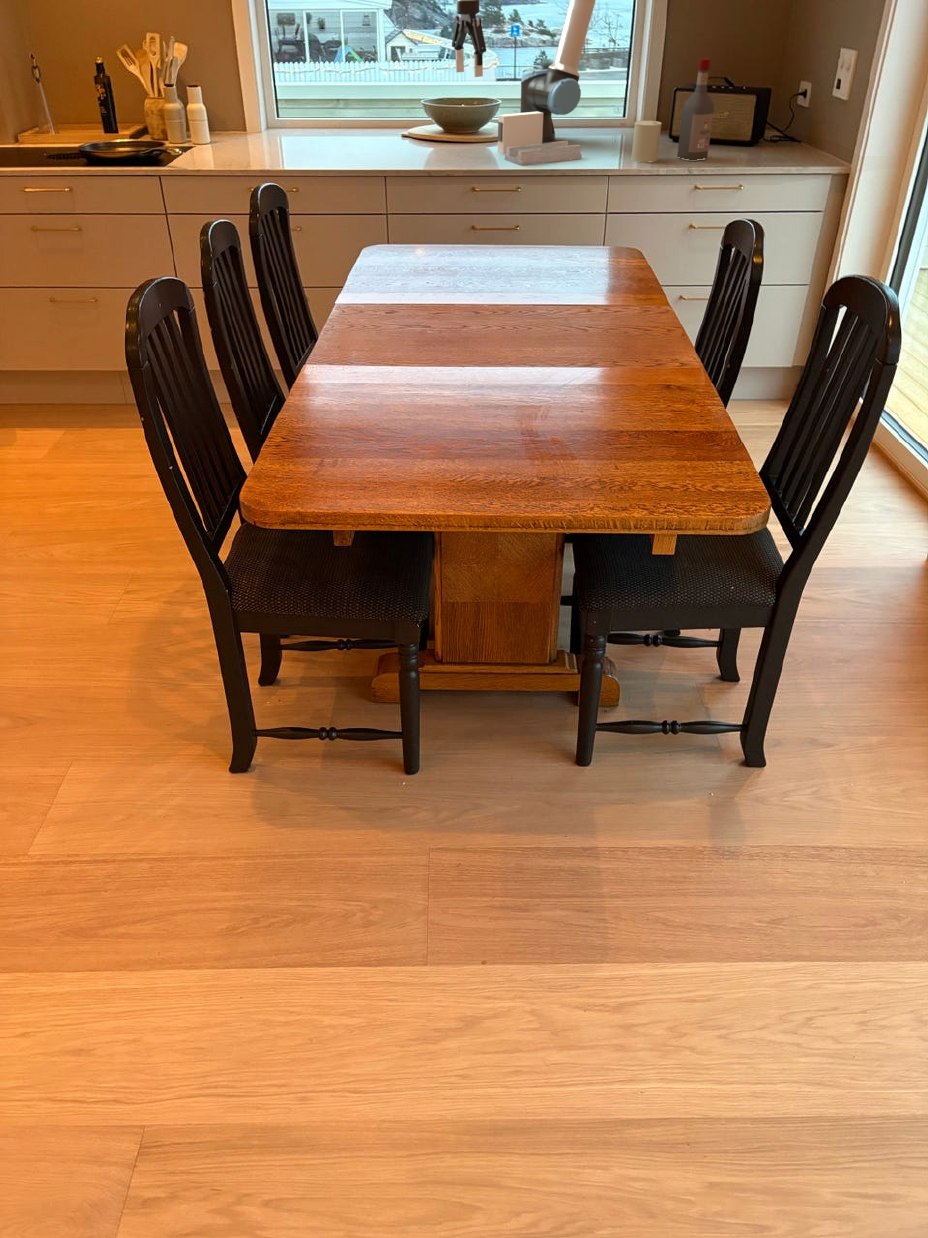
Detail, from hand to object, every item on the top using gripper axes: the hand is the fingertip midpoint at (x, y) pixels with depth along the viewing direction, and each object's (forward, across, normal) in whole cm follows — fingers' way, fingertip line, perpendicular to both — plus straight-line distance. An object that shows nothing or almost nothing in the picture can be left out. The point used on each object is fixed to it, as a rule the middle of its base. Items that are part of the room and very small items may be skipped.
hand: (469, 74), depth 318 cm
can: (+26, +35, +49) cm, 66 cm away
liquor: (+27, +41, +65) cm, 82 cm away
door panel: (+26, +2, +19) cm, 32 cm away
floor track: (+26, +18, +19) cm, 37 cm away
